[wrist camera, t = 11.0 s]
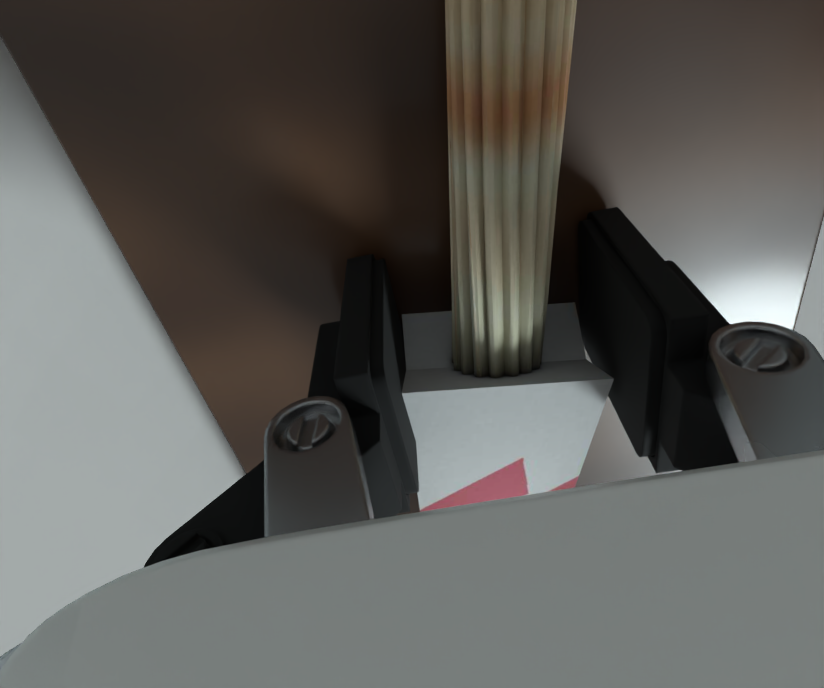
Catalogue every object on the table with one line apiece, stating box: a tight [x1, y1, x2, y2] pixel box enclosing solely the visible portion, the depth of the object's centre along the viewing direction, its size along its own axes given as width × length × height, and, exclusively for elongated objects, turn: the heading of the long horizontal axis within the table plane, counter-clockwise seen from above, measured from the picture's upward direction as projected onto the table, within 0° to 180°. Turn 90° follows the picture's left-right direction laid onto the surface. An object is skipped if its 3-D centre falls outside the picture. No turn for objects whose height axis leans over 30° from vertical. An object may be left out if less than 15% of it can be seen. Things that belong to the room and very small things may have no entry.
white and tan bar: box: [402, 0, 614, 512], centre depth 11 cm, size 4×3×20 cm
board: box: [0, 0, 824, 516], centre depth 12 cm, size 22×14×1 cm, turn 11°
